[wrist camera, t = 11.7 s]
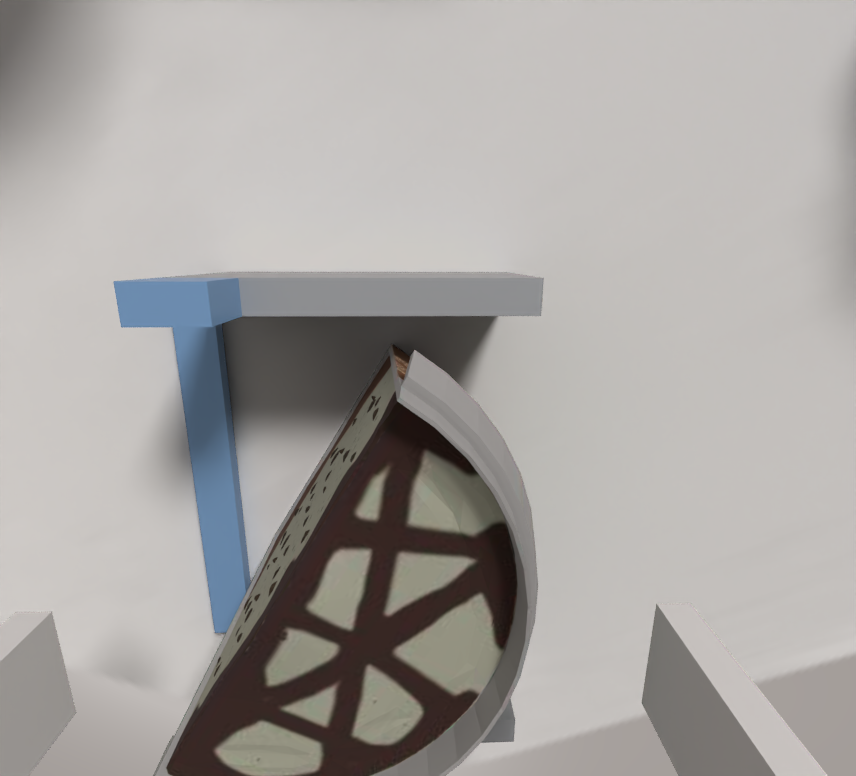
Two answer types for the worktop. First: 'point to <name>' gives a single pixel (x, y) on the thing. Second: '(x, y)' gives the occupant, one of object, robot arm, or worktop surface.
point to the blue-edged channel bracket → (208, 382)
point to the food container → (378, 600)
